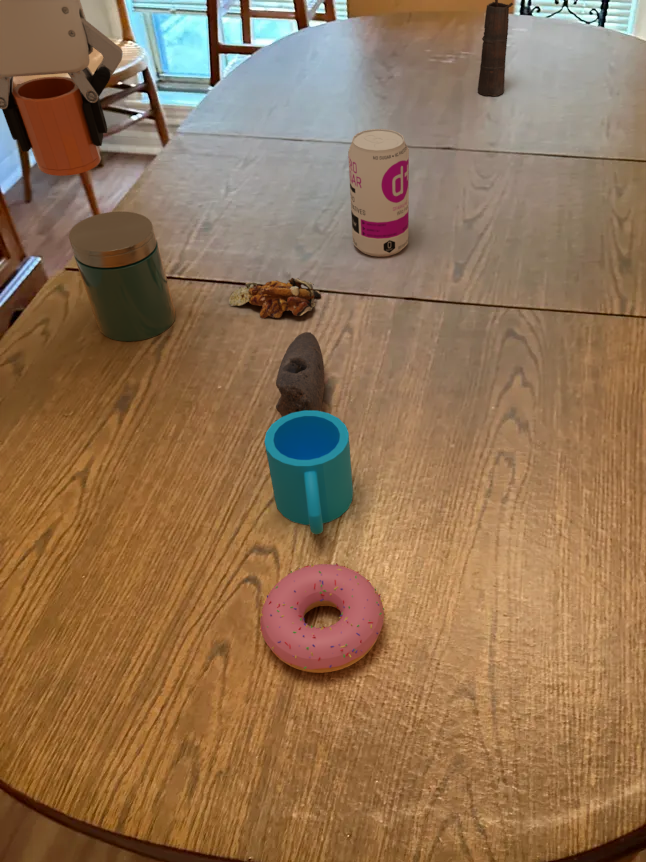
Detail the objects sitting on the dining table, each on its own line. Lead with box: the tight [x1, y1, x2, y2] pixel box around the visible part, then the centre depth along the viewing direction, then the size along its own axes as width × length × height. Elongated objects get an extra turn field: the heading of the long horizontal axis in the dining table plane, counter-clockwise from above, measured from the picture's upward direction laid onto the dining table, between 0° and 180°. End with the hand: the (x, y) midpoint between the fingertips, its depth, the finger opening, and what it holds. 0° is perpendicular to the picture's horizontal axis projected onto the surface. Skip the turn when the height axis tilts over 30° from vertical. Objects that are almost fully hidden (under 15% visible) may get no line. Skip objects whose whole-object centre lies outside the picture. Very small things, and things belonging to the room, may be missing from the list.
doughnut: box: [258, 562, 385, 674], centre depth 69 cm, size 11×11×4 cm
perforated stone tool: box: [275, 331, 325, 417], centre depth 90 cm, size 15×5×7 cm, turn 178°
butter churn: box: [477, 0, 514, 97], centre depth 146 cm, size 9×10×28 cm
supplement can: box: [347, 128, 410, 258], centre depth 111 cm, size 8×8×15 cm
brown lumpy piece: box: [228, 277, 322, 319], centre depth 105 cm, size 7×12×4 cm, turn 82°
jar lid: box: [68, 211, 157, 268], centre depth 95 cm, size 10×10×2 cm
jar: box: [73, 239, 176, 342], centre depth 99 cm, size 10×10×12 cm
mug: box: [264, 410, 354, 535], centre depth 78 cm, size 12×8×8 cm
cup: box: [12, 76, 102, 177], centre depth 78 cm, size 6×6×7 cm
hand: (63, 141), depth 79 cm, fingers closed on cup, 6 cm apart
